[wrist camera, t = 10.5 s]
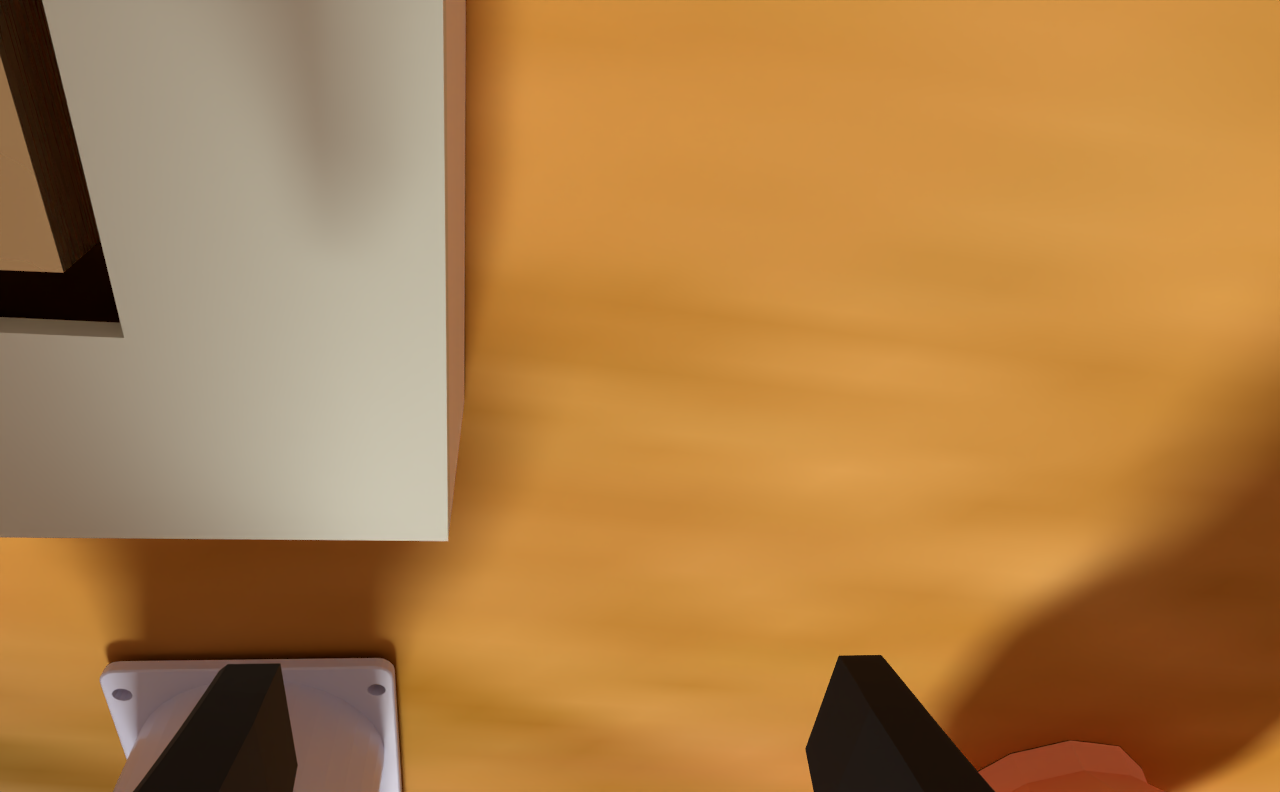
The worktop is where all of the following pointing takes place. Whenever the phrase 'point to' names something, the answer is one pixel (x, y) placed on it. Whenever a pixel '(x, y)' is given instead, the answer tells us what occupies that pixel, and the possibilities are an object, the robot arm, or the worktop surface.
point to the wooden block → (38, 151)
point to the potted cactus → (1068, 770)
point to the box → (253, 278)
